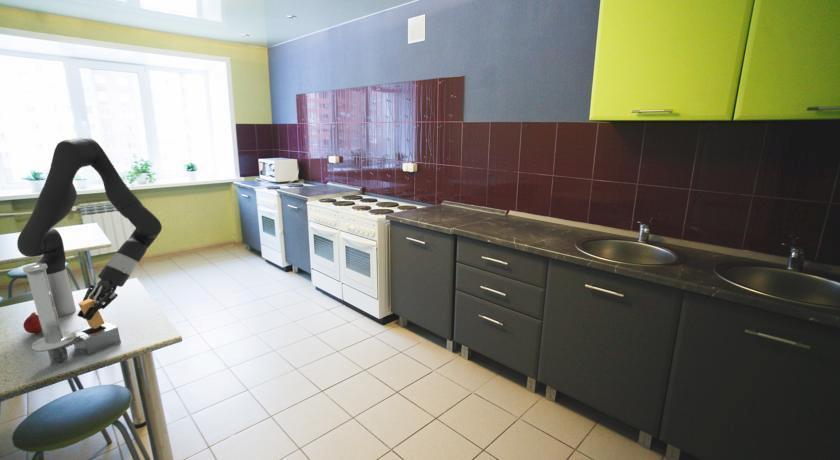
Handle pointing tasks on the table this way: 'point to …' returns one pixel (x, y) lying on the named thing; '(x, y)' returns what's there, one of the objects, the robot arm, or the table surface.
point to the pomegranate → (33, 324)
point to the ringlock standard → (53, 337)
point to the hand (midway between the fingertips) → (83, 317)
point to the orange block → (96, 319)
